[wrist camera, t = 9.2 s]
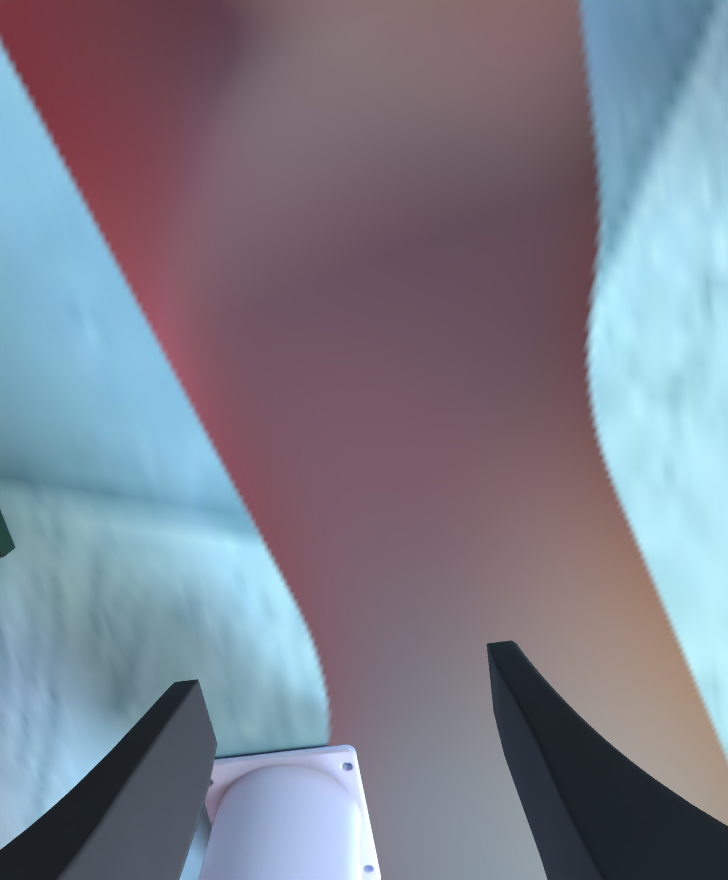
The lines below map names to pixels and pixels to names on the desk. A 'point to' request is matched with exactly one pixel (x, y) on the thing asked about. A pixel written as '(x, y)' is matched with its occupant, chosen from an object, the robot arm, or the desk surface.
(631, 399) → the desk surface
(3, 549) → the green and cream block
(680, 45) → the desk surface
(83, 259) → the desk surface
